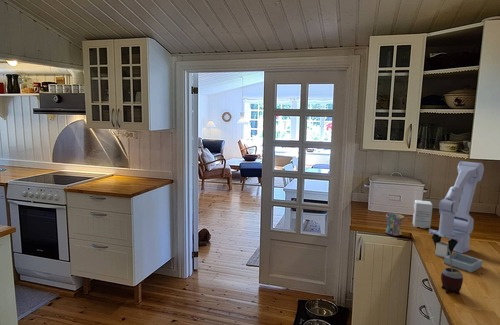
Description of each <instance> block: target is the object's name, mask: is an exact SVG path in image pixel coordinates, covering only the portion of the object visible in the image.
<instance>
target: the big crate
mask: <svg viewBox="0 0 500 325" xmlns="http://www.w3.org/2000/svg"><path fill="white" fill-rule="evenodd" d="M451 255H452V267H453V268H454V269H457V270H461V271H465V272H466V273H470V274H472V273H474V272H476V271H477V270H479V269H481V268H483V261H484V260H483V259H479V258H476V257H473V256H470V255H467V254H464V253H460V252H457V251H455V252H452V254H451ZM443 260H444V261H443V264H444V265H447V266H450V267H451V263H450V256H449V255H448V256H446V257H445V258H443Z"/></svg>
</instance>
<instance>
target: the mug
mask: <svg viewBox="0 0 500 325" xmlns="http://www.w3.org/2000/svg"><path fill="white" fill-rule="evenodd" d="M385 217H386V220H387V226H386V229H385V234H387V235H389V236H396V237H397V236H401V235H402V231H401V230H402V229H401V225H402V222H403V220H404V218H405V216H404V215H402V214H399V213H393V212H392V213H391V212H390V213H386V214H385Z"/></svg>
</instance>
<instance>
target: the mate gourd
mask: <svg viewBox="0 0 500 325" xmlns="http://www.w3.org/2000/svg"><path fill="white" fill-rule="evenodd" d="M447 249H448V251H449V254H450V255H449V256H450V263H451V266H450V267H446V268H444V269H442V272H441V274H440V280H441V284H442V286H441V289H444V290H445V294H447V295H448V294H449V292H450V293H453V292H454V293H453V294H455V293H456V295H460V294H461V293H460V291H461V289H462V286H463V283H464V277H463V274H462V272H461V271H460V269H458V268H454V267H452V255H451V252H450V250H449V248H448V247H447Z"/></svg>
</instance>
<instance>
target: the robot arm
mask: <svg viewBox="0 0 500 325" xmlns="http://www.w3.org/2000/svg"><path fill="white" fill-rule="evenodd" d="M484 171H485V166H484V164H483V163H482V162H474V161H472V162H471V161H464V160H460V161H459V162H458V164H457V173H458V175H457V177H456V180H455V182H454V185H453V186H450V187H449V189H448V191H447V193H446V195H445V196H444V198H442V199H441V200H440V201H439V203H438V209H439V212H438V213H439V215H440V218H439V225H438V226H439V227H438V230H435V229H432V228H430V229H428V235H431V239H432V241H433V244H434V248H435V250H436V243H438V242H440V241H442V238H444V239H448V241H447V243H448V245H449V250H450V252H451V254H453V251H455V252H457V253H460V254H464V253H467V252H468V251H471V250H472V249H471V248H470V240H471V235H470V234H472V233H473V230H474V222H475V219H474V218H473V217H472V216H471V214H470V210H471V206H472V204H473V199H474V196H475V192H476V187H477V185H478V182H481V181H482V178H483V176H484ZM448 255H450V254H449V251H448Z"/></svg>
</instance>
